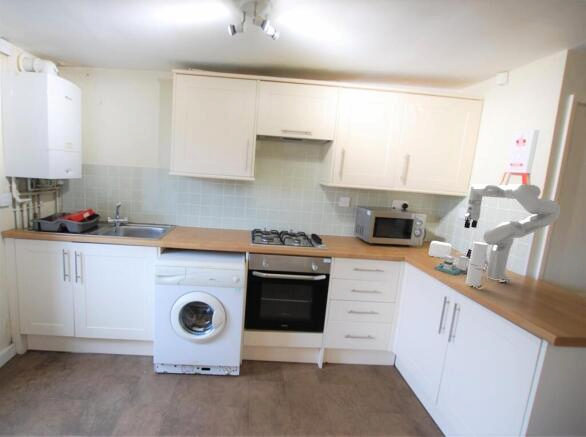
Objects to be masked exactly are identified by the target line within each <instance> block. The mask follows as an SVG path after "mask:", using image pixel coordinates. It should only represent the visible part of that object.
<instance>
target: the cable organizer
mask: <svg viewBox="0 0 586 437" xmlns="http://www.w3.org/2000/svg"><path fill="white" fill-rule="evenodd" d="M452 247H453V245H452V244H451V243H448V242H443V241H437V240H432V241H431V242H430V244H429V249H428V256H429V255H430V257H431V256H434V257H433V258H438V257H439V258H438V259H442V258H445V256H452V255H451V253H452Z"/></svg>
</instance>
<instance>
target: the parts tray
mask: <svg viewBox="0 0 586 437" xmlns="http://www.w3.org/2000/svg"><path fill="white" fill-rule="evenodd" d="M443 266H444V265H440V264H438V265H434V270H436V271H439V272H442V273H446V274H449V275H451V276H455V275H459V274H461V273H460V270H458V269H455V268H452V271H450V270H447V269H444V268H443Z"/></svg>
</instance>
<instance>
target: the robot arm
mask: <svg viewBox="0 0 586 437" xmlns="http://www.w3.org/2000/svg"><path fill="white" fill-rule="evenodd" d="M541 193H542V192H541V188H540V187H539V186H537V185H535V184H527V183H519V184H508V185H493V184H492V185H491V184H472V185H471V187H470V192H469V198H468V202H467V203H468V205H467V208H466V214H465V215H464V218H465V219H464V229H470V227H471V228H472V229H473V228H474V229H476V228H477V225H478V221H479V220H480V217H481V206H482V203H483V202H482V201H483V197H487V198H503V199H504V198H506V199H509V200H511V199H512V200H514V199H515V200H516V202H518V203H519V204H520V205H521V207H522V208H524V210H525V211H526V212H528V213H529V214H532V215H530V216H527V217H525V218H523V219H521V220H518V221H514V220H513V221H512V220H511V221H504V222H501V223H499V224H497V225H495V226H494V227H491V228H489V229H487V230H486V231H485V232H484V234H483V237H482V238H483V241H484V243H486V244H488V246H491V248H490V251H489V256H488V261H487V265H486V271H485V274H486V276H488V277H490V278H494V279H500V280H506V282H512V281H513V280H512V278H511V277H509V276H507V274H506V269H507V265H508V259H509V255H510V251H511V248H512V245H513V243H514V241H515V239H520V238H523V237H526V236H527V235H528V236H529V235H530V234H532V233H536V231H537V232H538V231H539V230H541V229H543V228H546V227H548V226H549V225H551V224H553V223H554V222H555V221H556V220H558V218H559V217H560V214H561V206H560V205H559V203H558V202H557V201H555V200H552V199H546V198H539V196H540V195H541ZM471 221H472V222H471ZM470 225H471V226H470Z"/></svg>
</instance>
